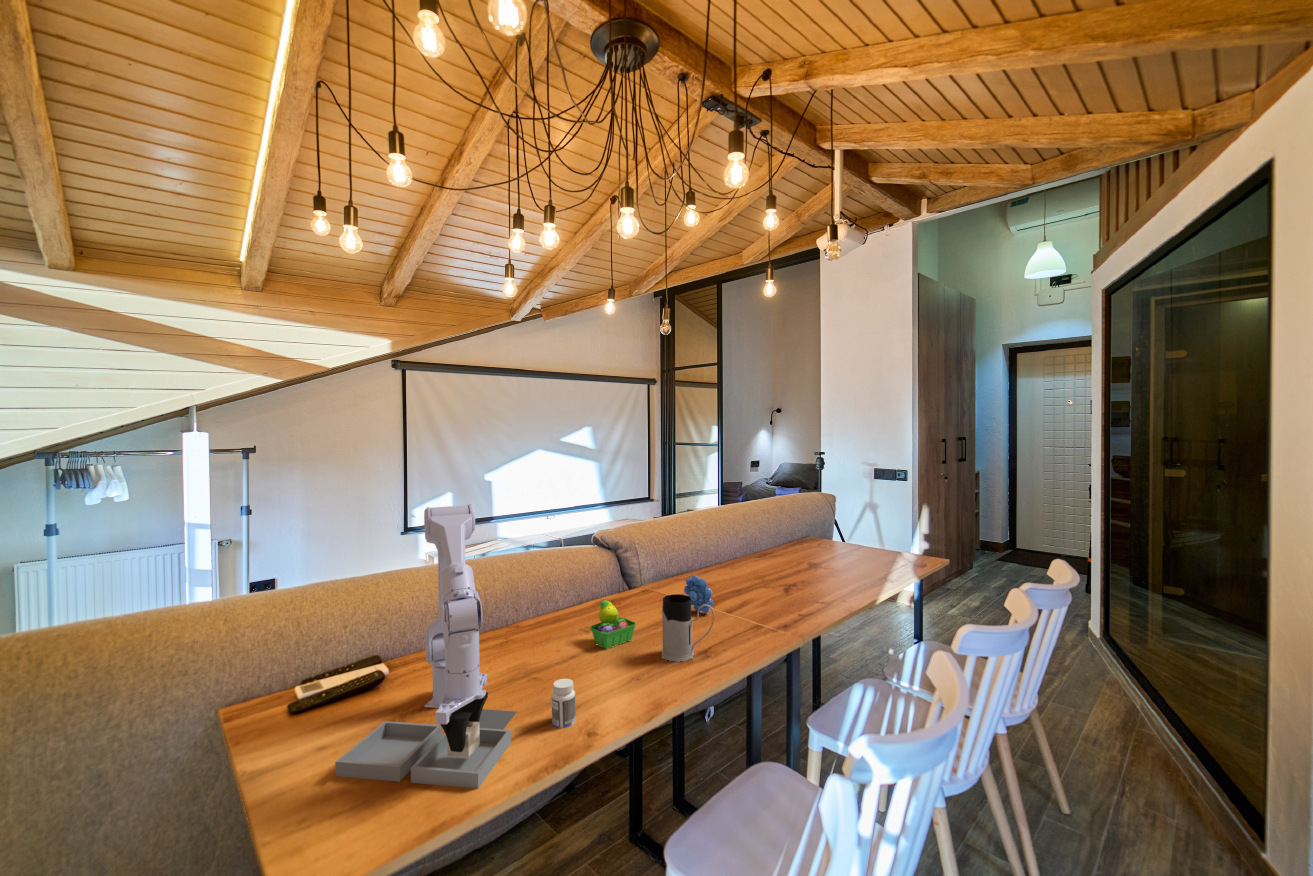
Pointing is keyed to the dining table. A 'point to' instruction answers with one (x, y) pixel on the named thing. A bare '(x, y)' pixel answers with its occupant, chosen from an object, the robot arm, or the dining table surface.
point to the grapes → (698, 593)
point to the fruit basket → (611, 627)
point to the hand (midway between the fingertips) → (463, 743)
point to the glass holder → (678, 627)
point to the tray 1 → (388, 751)
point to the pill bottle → (563, 703)
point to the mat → (495, 718)
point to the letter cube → (468, 741)
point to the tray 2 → (461, 761)
